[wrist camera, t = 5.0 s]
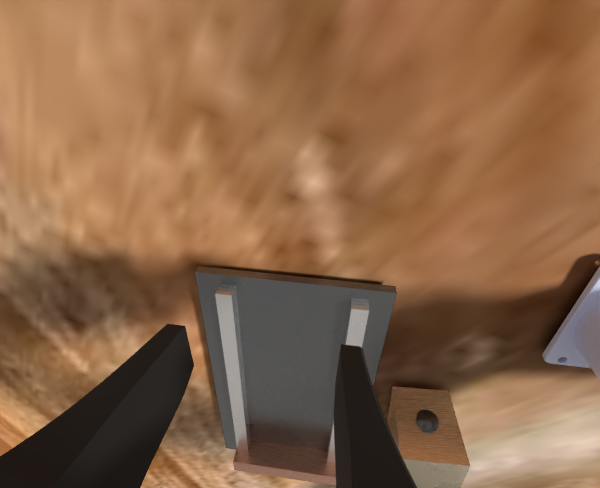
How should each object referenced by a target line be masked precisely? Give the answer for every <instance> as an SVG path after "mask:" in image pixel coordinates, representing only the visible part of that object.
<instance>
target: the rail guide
mask: <svg viewBox="0 0 600 488" xmlns="http://www.w3.org/2000/svg"><path fill="white" fill-rule="evenodd" d="M195 276H196V282H197V288H198V293H199V299H200V304H201V310H202V316H203V321H204V327H205V333H206V338H207V344H208V349H209V355H210V361H211V366H212V372H213V378H214V383H215V389H216V394H217V400H218V406H219V411H220V417H221V422H222V428H223V434H224V439H225V445H226V448H230V449H237V450H236V454H235V457H234V461H233V463H234V469H235V470H238V471H245V472H251V473H258V474H264V475H270V476H277V477H283V478H289V479H296V480H302V481H309V482H315V483H321V484H328V485H334V486H336V469H335V443H334V397H335V382H336V375H337V368H338V361H339V354H340V347H341V344H344V345H352V346H360V347H361V348H362V349H363V352H364V357H365V361H366V365H367V368H368V372H369V375H370V378H371V381H372V384H373V385H374V381H375V377H376V373H377V369H378V365H379V361H380V357H381V353H382V349H383V345H384V341H385V337H386V333H387V329H388V325H389V321H390V317H391V314H392V310H393V306H394V302H395V298H396V294H397V292H396V287H395V286H388V285H378V284H368V283H358V282H348V281H339V280H329V279H319V278H309V277H300V276H290V275H280V274H270V273H260V272H251V271H241V270H231V269H221V268H211V267H202V266H198V268H197V269H196V271H195Z"/></svg>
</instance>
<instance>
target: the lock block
mask: <svg viewBox="0 0 600 488" xmlns="http://www.w3.org/2000/svg"><path fill="white" fill-rule="evenodd" d="M387 424H388V427H389V429H390V431H391V434H392V436H393V438H394V440H395V443H396V445H397V447H398V449H399V452H400V454H401V456H402V458H403V460H404V462H405V464H406V466H407V468H408V470H409V472H410V474H411V476H412V478H413V480H414V482H415V484H416V486H417V488H461V486H462V483H463V481H464V479H465V476H466V474H467V472H468V470H469V467H470V464H469V460H468V457H467V453H466V450H465V446H464V443H463V439H462V436H461V432H460V429H459V425H458V422H457V418H456V415H455V411H454V408H453V404H452V401H451V397H450V394H449V391H446V390H433V389H419V388H406V387H392V392H391V399H390V405H389V412H388V419H387Z"/></svg>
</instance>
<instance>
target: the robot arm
mask: <svg viewBox="0 0 600 488" xmlns="http://www.w3.org/2000/svg"><path fill="white" fill-rule="evenodd" d="M542 356H543V358H544V360H545V361H546V362H547V363H551V364H559V365H567V366H576V367H584V368H591V369H592V370H593V372H594V373H595V375H596V376H597V377H598V379H599V380H600V267H599V268H598V270H597V271H596V273H595V274H594V276H593V277H592V279H591V280H590V282H589V283H588V285H587V286H586V288H585V290H584V291H583V293H582V294H581V296H580V297H579V299H578V300H577V302H576V303H575V305H574V306H573V308H572V309H571V311H570V313H569V314H568V316H567V317H566V319H565V320H564V322H563V323H562V325H561V326H560V328H559V329H558V331H557V332H556V334H555V336H554V337H553V339H552V340H551V342H550V343H549V345H548V346H547V348H546V349H545V351H544V352H543V354H542ZM193 367H194V363H193V359H192V355H191V350H190V346H189V341H188V337H187V332H186V328H185V326H181V325H173V324H167V325H166V326H165V327H163V328H162V329H161V330H160V331H159V332H158V333H157V334H156V335H155V336H153V337H152V338H151V339H150V340H149V341H148V342H147V343H146V344H145V345H144V346H142V347H141V348H140V349H139V350H138V351H137V352H136V353H135V354H134V355H133V356H131V357H130V358H129V359H128V360H127V361H126V362H125V363H123V364H122V365H121V366H120V367H119V368H118V369H117V370H115V371H114V372H113V373H112V374H111V375H110V376H109V377H107V378H106V379H105V380H104V381H103V382H101V383H100V384H99V385H98V386H96V387H95V388H94V389H93V390H92V391H90V392H89V393H88V394H87V395H85V396H84V397H83V398H82V399H80V400H79V401H78V402H77V403H75V404H74V405H73V406H72V407H70V408H69V409H68V410H66V411H65V412H64V413H62V414H61V415H60V416H58V417H57V418H56V419H54V420H53V421H52V422H50V423H49V424H47V425H46V426H45V427H43V428H42V429H40V430H39V431H38V432H36V433H35V434H33V435H32V436H30V437H29V438H27V439H26V440H24V441H23V442H21V443H20V444H19V445H17V446H16V447H14V448H13V449H11V450H9V451H8V452H7V453H5V454H3V455H2V456H0V488H140V487H141V484H142V482H143V480H144V477H145V475H146V473H147V471H148V468H149V466H150V464H151V462H152V460H153V458H154V456H155V454H156V452H157V450H158V448H159V445H160V443H161V441H162V439H163V437H164V435H165V433H166V431H167V429H168V427H169V425H170V423H171V421H172V419H173V417H174V414H175V412H176V410H177V408H178V406H179V404H180V402H181V400H182V398H183V395H184V393H185V390H186V387H187V384H188V382H189V379H190V376H191V373H192V370H193ZM334 443H335V469H336V488H417V486H416V484H415V482H414V480H413V478H412V476H411V474H410V472H409V470H408V468H407V466H406V464H405V462H404V460H403V458H402V456H401V454H400V452H399V449H398V447H397V445H396V443H395V440H394V438H393V436H392V434H391V431H390V429H389V427H388V424H387V422H386V419H385V417H384V414H383V412H382V409H381V406H380V404H379V401H378V399H377V396H376V393H375V390H374V387H373V384H372V381H371V378H370V375H369V372H368V368H367V365H366V361H365V357H364V352H363V349H362V348H361V347H360V346H352V345H344V344H341V347H340V354H339V361H338V368H337V375H336V382H335V397H334Z"/></svg>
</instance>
